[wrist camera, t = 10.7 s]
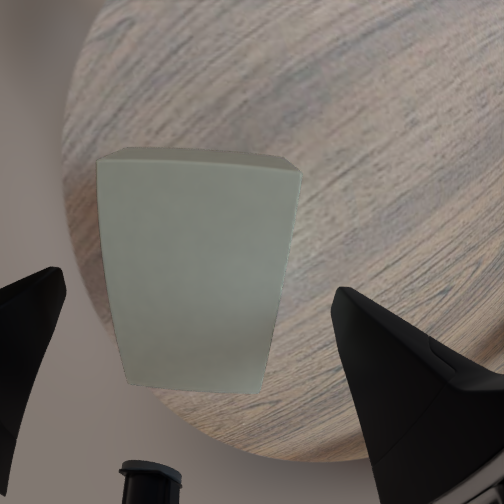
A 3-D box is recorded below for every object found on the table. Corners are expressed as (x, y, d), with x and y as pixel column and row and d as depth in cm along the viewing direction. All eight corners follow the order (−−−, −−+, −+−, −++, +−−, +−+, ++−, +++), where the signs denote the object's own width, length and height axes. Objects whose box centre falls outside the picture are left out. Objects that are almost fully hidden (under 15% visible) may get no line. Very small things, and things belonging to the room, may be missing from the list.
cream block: (254, 350, 12) (260, 394, 10) (139, 342, 12) (127, 384, 10) (285, 156, 9) (303, 171, 7) (125, 146, 8) (94, 159, 6)
